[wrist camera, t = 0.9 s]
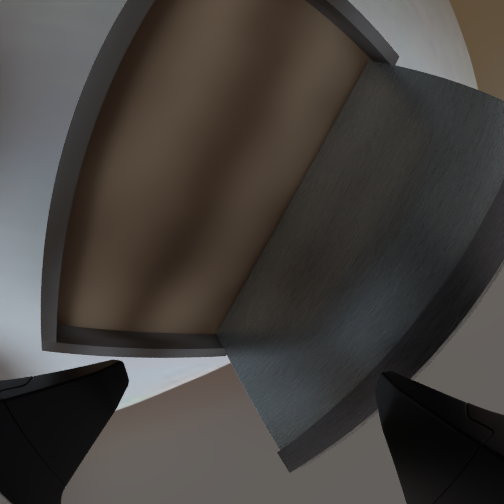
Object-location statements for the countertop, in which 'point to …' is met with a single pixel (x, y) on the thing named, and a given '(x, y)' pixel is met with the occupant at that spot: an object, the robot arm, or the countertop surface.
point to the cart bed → (189, 165)
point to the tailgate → (372, 257)
